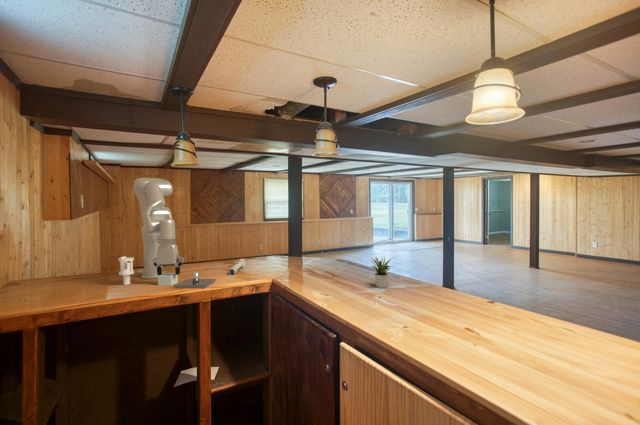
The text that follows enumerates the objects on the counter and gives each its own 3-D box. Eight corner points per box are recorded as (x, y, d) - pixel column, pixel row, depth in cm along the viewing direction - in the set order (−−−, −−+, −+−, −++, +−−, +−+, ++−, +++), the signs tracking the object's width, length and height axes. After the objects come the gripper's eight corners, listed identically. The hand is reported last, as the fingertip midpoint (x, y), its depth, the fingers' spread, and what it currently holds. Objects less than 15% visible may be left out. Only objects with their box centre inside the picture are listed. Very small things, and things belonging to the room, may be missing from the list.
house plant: (360, 287, 157) (360, 255, 157) (369, 282, 169) (369, 251, 169) (388, 291, 150) (388, 256, 150) (396, 284, 163) (396, 253, 162)
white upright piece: (115, 285, 167) (115, 256, 166) (126, 282, 173) (126, 254, 173) (126, 286, 165) (126, 257, 165) (137, 282, 172) (137, 255, 171)
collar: (158, 285, 166) (157, 275, 166) (165, 282, 173) (165, 273, 173) (171, 285, 165) (171, 275, 165) (177, 282, 172) (177, 273, 172)
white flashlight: (226, 268, 190) (239, 256, 215) (227, 279, 191) (239, 266, 216) (235, 268, 190) (246, 256, 214) (236, 279, 191) (247, 266, 215)
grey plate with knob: (174, 288, 160) (174, 275, 160) (187, 281, 174) (186, 269, 174) (205, 288, 159) (205, 275, 159) (215, 281, 173) (215, 269, 173)
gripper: (147, 243, 165) (148, 276, 165) (180, 242, 164) (181, 275, 164) (155, 242, 173) (156, 274, 172) (186, 241, 172) (187, 273, 172)
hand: (168, 274), depth 168 cm, fingers open, 9 cm apart
